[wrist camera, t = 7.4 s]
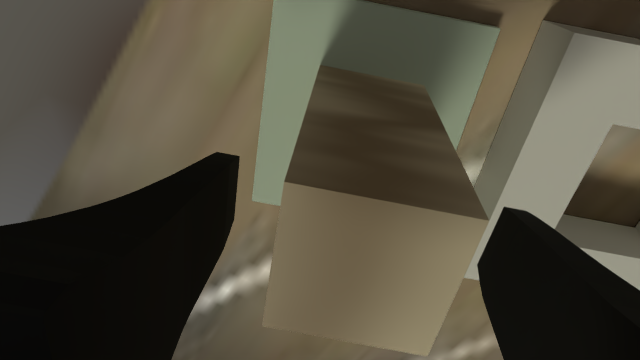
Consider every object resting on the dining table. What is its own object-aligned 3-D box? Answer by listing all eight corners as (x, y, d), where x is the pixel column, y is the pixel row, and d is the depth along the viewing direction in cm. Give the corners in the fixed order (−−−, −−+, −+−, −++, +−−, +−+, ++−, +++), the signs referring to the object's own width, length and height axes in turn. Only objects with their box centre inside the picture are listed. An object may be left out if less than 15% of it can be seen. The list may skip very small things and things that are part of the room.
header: (814, 73, 15) (890, 94, 13) (658, 279, 20) (694, 320, 18) (542, 19, 15) (574, 32, 13) (452, 240, 20) (463, 277, 18)
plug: (423, 85, 16) (489, 220, 8) (396, 176, 18) (427, 356, 10) (319, 64, 16) (284, 182, 8) (303, 158, 18) (262, 326, 10)
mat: (496, 26, 15) (500, 28, 15) (424, 226, 20) (425, 233, 19) (277, -17, 15) (275, -16, 15) (254, 194, 19) (251, 200, 19)
